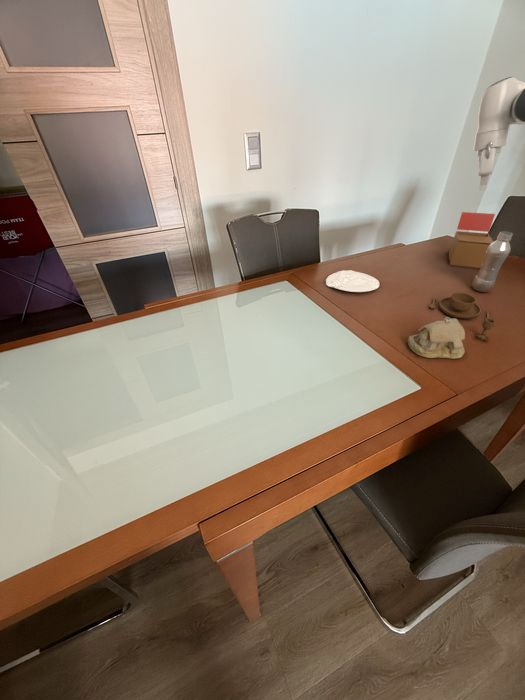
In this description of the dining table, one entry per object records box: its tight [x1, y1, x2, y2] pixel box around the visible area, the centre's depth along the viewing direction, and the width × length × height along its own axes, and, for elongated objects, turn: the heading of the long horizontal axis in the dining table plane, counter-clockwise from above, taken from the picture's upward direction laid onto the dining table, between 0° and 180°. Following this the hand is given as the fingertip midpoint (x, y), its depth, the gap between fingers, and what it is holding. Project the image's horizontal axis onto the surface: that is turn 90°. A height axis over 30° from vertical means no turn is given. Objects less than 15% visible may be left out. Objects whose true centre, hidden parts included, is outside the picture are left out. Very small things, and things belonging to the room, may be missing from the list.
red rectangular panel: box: [456, 211, 496, 233], centre depth 126 cm, size 7×12×1 cm
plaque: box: [325, 269, 380, 293], centre depth 116 cm, size 20×20×2 cm
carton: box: [448, 230, 494, 269], centre depth 125 cm, size 14×12×10 cm
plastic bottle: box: [471, 230, 514, 293], centre depth 102 cm, size 6×7×20 cm
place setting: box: [428, 292, 496, 341], centre depth 94 cm, size 18×20×6 cm
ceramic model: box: [407, 316, 466, 359], centre depth 82 cm, size 14×11×10 cm
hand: (482, 188), depth 107 cm, fingers open, 8 cm apart
